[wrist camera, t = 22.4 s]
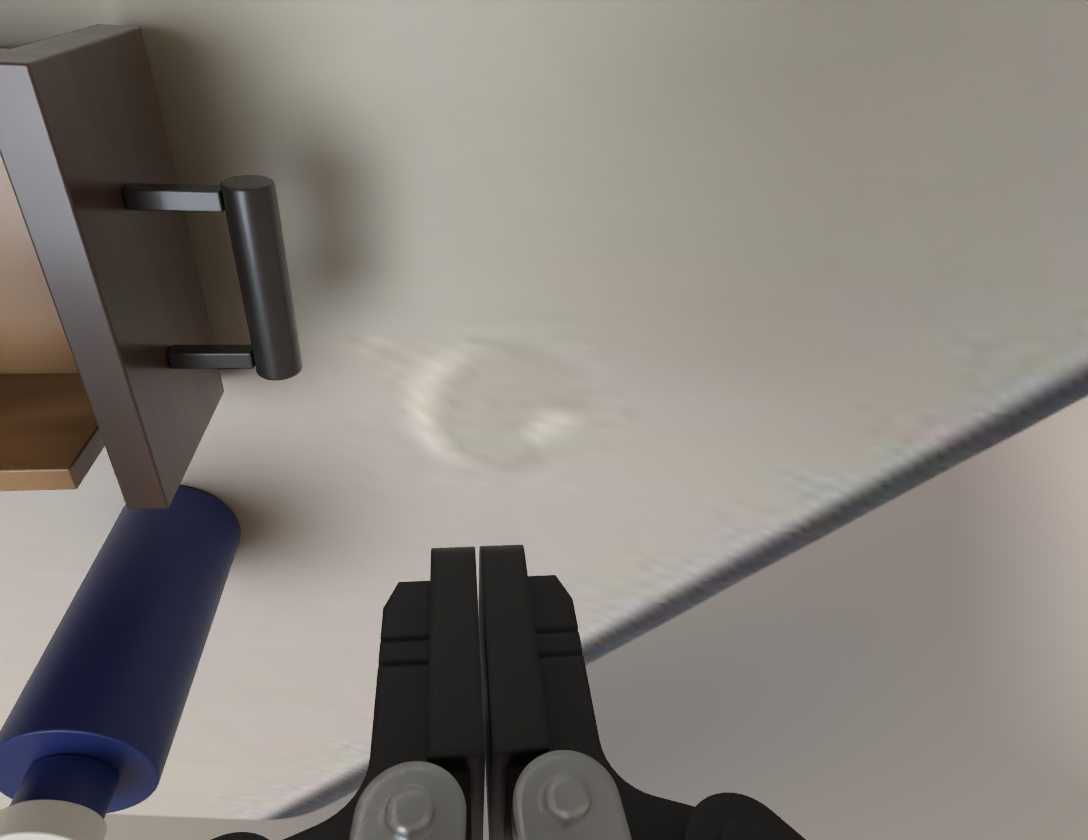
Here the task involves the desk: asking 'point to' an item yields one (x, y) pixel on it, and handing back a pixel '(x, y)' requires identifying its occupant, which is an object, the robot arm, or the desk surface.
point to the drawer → (115, 275)
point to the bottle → (116, 672)
